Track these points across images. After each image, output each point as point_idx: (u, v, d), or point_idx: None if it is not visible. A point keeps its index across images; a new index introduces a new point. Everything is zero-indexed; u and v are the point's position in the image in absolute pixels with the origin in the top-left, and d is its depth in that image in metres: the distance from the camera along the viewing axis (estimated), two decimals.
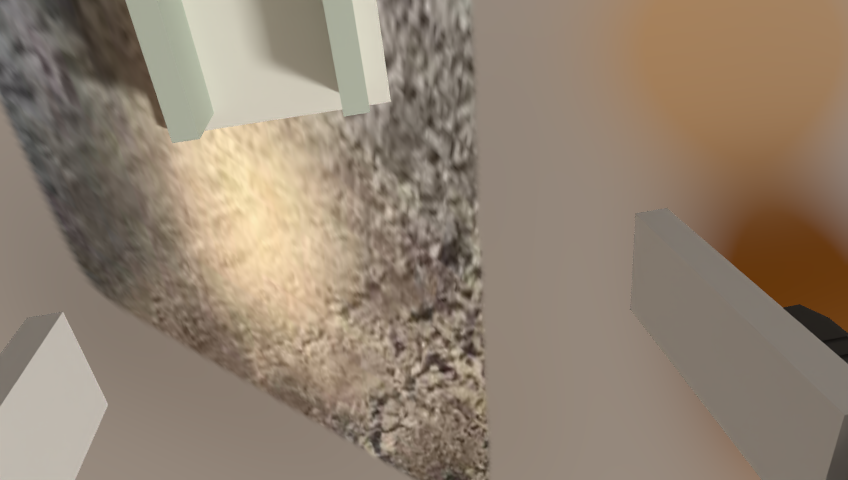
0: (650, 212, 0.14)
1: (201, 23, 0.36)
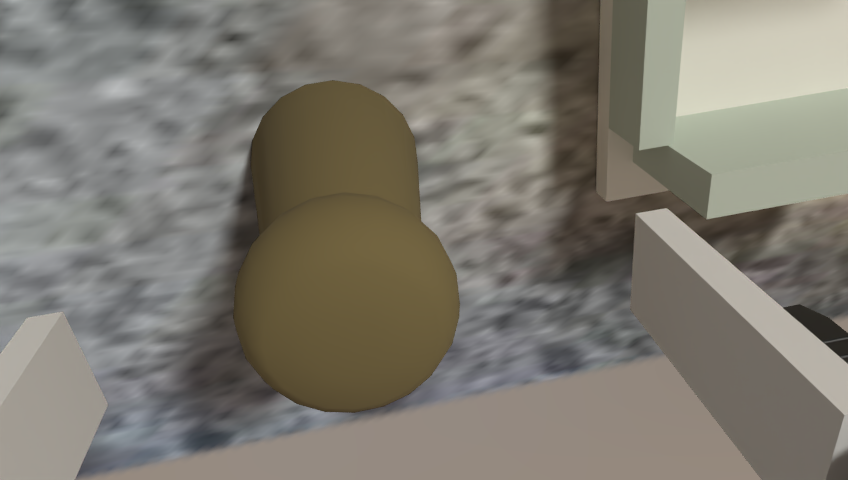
0: (649, 212, 0.14)
1: (758, 84, 0.23)
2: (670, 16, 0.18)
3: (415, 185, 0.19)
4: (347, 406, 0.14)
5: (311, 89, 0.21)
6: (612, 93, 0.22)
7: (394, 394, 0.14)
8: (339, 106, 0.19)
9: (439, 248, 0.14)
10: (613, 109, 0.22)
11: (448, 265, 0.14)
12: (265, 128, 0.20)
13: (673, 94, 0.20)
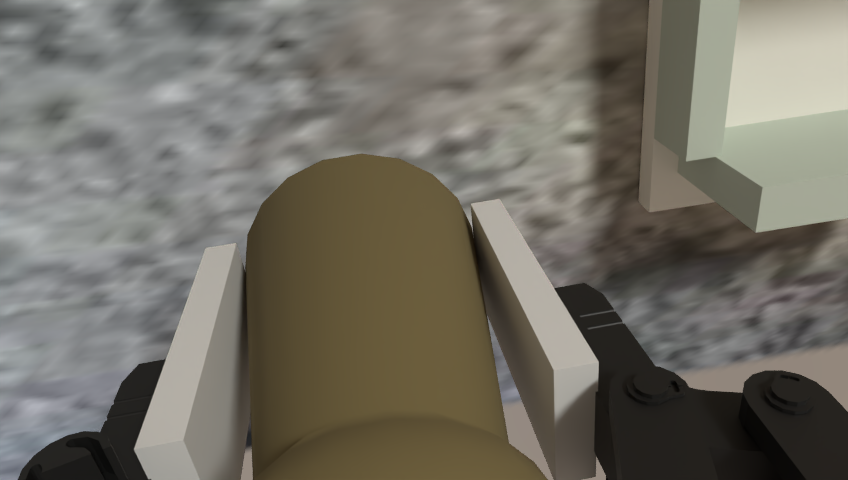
0: (483, 202, 0.16)
1: (809, 96, 0.22)
2: (722, 26, 0.18)
3: (487, 327, 0.12)
4: None
5: (331, 168, 0.14)
6: (659, 103, 0.21)
7: None
8: (373, 201, 0.13)
9: None
10: (659, 119, 0.22)
11: None
12: (264, 226, 0.14)
13: (723, 105, 0.19)
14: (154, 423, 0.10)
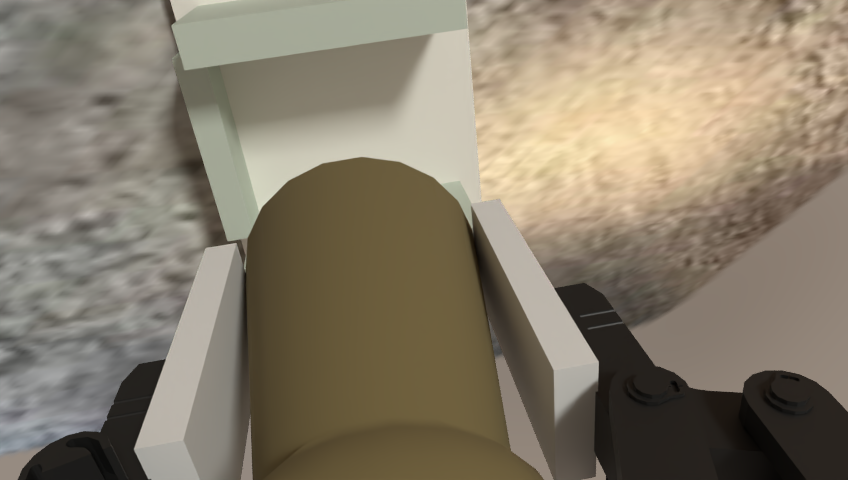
0: (483, 202, 0.16)
1: None
2: (219, 150, 0.25)
3: (488, 332, 0.12)
4: None
5: (332, 172, 0.14)
6: None
7: None
8: (374, 204, 0.13)
9: None
10: None
11: None
12: (264, 229, 0.14)
13: (241, 202, 0.27)
14: (154, 423, 0.10)
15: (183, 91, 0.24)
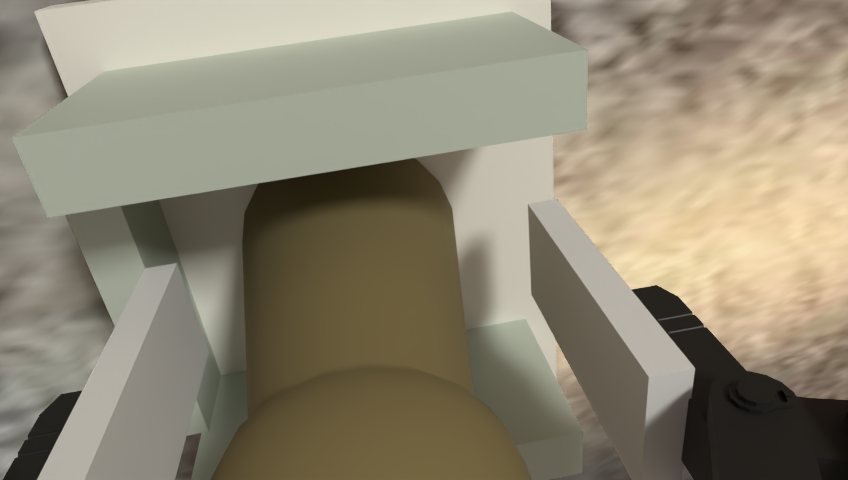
0: (541, 202, 0.15)
1: None
2: None
3: (460, 298, 0.14)
4: None
5: None
6: None
7: None
8: (359, 182, 0.14)
9: (515, 467, 0.09)
10: None
11: None
12: (260, 204, 0.15)
13: None
14: (56, 465, 0.09)
15: (73, 224, 0.14)
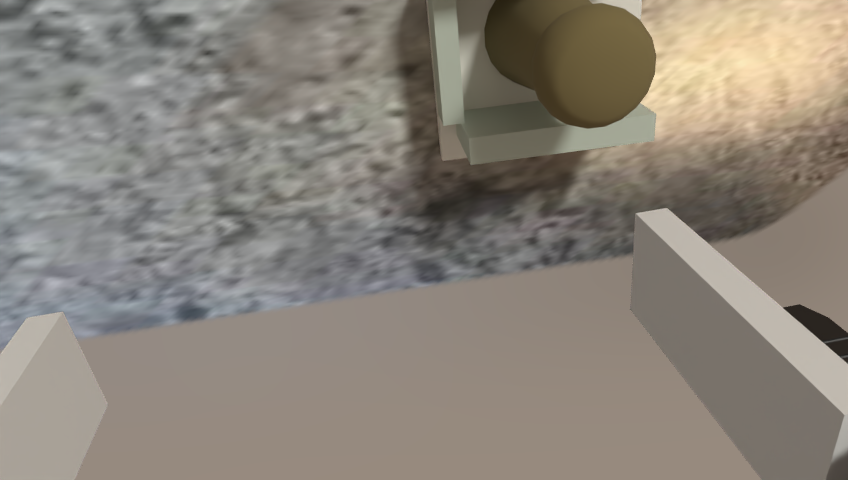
0: (650, 212, 0.14)
1: None
2: (450, 47, 0.32)
3: None
4: (592, 117, 0.26)
5: None
6: (436, 91, 0.35)
7: (618, 112, 0.26)
8: None
9: None
10: (437, 101, 0.36)
11: None
12: None
13: (459, 92, 0.33)
14: None
15: None
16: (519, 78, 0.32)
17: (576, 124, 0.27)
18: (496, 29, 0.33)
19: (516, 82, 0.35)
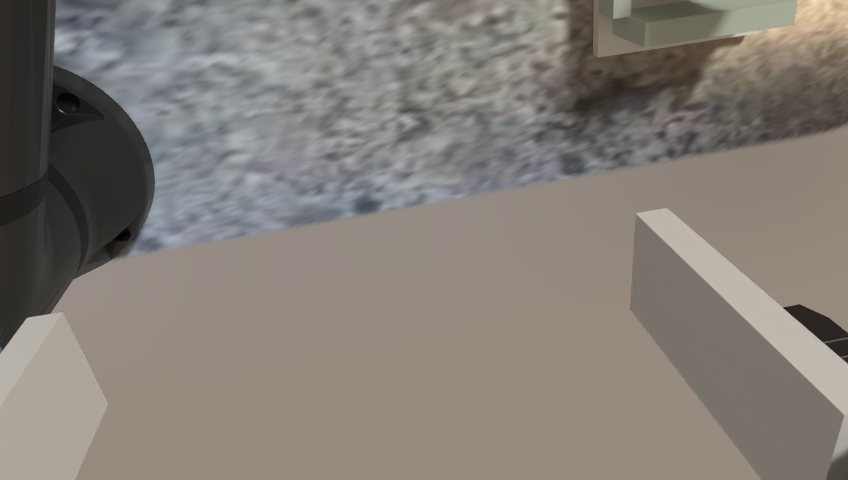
0: (649, 212, 0.14)
1: None
2: None
3: None
4: None
5: None
6: None
7: None
8: None
9: None
10: (601, 2, 0.42)
11: None
12: None
13: None
14: None
15: None
16: None
17: None
18: None
19: None
